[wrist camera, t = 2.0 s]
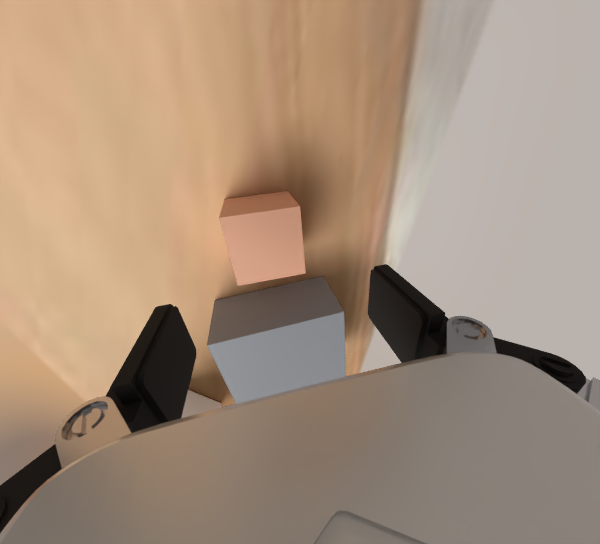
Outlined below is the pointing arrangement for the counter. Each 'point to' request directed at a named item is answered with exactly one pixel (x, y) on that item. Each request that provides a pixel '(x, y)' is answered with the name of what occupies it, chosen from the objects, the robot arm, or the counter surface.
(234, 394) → the grey block
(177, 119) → the counter surface
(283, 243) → the terracotta cube
